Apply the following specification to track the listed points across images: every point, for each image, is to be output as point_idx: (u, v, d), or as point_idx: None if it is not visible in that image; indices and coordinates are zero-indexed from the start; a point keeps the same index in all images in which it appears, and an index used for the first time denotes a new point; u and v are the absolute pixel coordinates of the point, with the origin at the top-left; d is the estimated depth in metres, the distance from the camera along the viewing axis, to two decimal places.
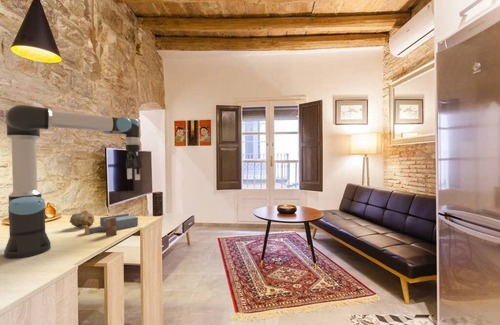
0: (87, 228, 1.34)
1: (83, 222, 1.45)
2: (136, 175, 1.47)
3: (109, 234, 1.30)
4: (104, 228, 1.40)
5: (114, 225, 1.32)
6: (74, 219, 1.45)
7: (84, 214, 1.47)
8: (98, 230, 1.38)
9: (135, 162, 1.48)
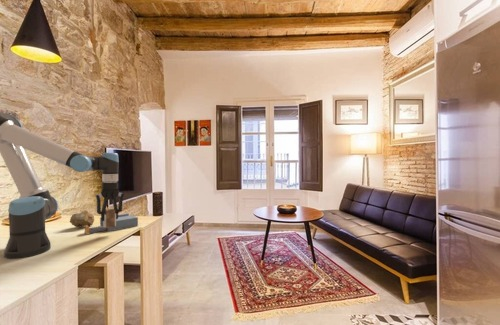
0: (87, 228, 1.34)
1: (83, 222, 1.45)
2: (103, 221, 1.31)
3: (107, 226, 1.30)
4: (104, 228, 1.40)
5: (113, 217, 1.32)
6: (74, 219, 1.45)
7: (84, 214, 1.47)
8: (98, 230, 1.38)
9: (102, 206, 1.31)
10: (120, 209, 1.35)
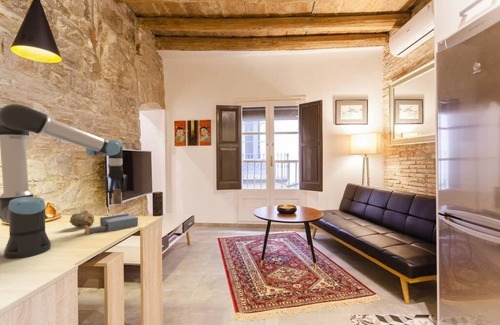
0: (87, 228, 1.34)
1: (83, 222, 1.45)
2: (111, 199, 1.53)
3: (115, 202, 1.52)
4: (104, 228, 1.40)
5: (119, 195, 1.53)
6: (74, 219, 1.45)
7: (84, 214, 1.47)
8: (98, 230, 1.38)
9: (110, 186, 1.52)
10: (125, 189, 1.57)
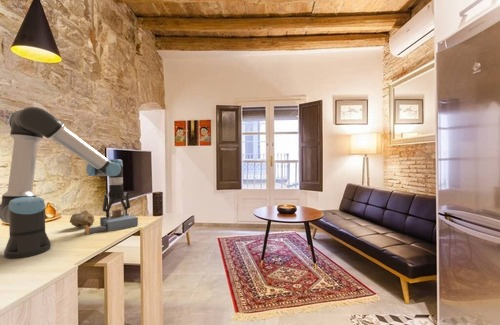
0: (87, 228, 1.34)
1: (83, 222, 1.45)
2: (108, 217, 1.51)
3: None
4: (104, 228, 1.40)
5: (119, 216, 1.53)
6: (74, 219, 1.45)
7: (84, 214, 1.47)
8: (98, 230, 1.38)
9: (108, 204, 1.52)
10: (128, 206, 1.58)
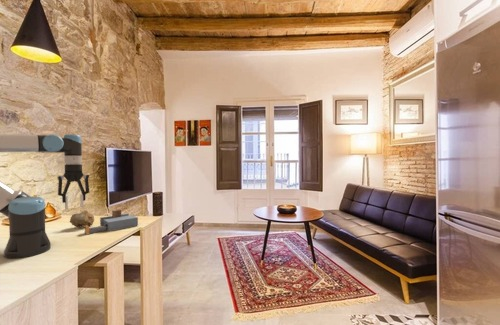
0: (87, 228, 1.34)
1: (83, 222, 1.45)
2: (65, 203, 1.29)
3: None
4: (104, 228, 1.40)
5: (119, 216, 1.53)
6: (74, 219, 1.45)
7: (84, 214, 1.47)
8: (98, 230, 1.38)
9: None
10: (87, 191, 1.35)
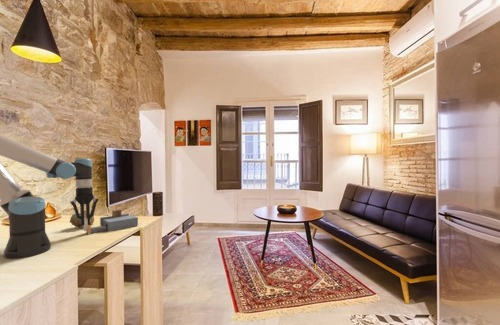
0: (89, 228, 1.34)
1: None
2: (83, 225, 1.35)
3: None
4: (106, 228, 1.41)
5: (119, 216, 1.53)
6: (74, 219, 1.45)
7: (84, 214, 1.47)
8: (100, 230, 1.39)
9: (80, 211, 1.34)
10: (92, 214, 1.36)
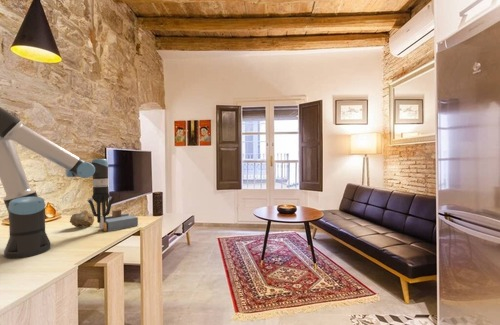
0: (105, 225, 1.40)
1: (83, 222, 1.45)
2: (99, 223, 1.40)
3: None
4: None
5: (119, 216, 1.53)
6: (74, 219, 1.45)
7: (84, 214, 1.47)
8: None
9: (97, 209, 1.39)
10: (107, 212, 1.42)
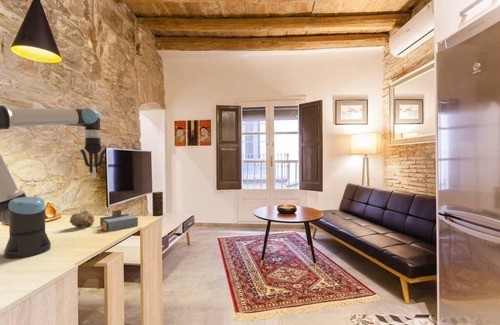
0: (105, 225, 1.40)
1: (83, 222, 1.45)
2: (92, 173, 1.45)
3: None
4: None
5: (119, 216, 1.53)
6: (74, 219, 1.45)
7: (84, 214, 1.47)
8: None
9: (89, 159, 1.44)
10: (100, 163, 1.46)
